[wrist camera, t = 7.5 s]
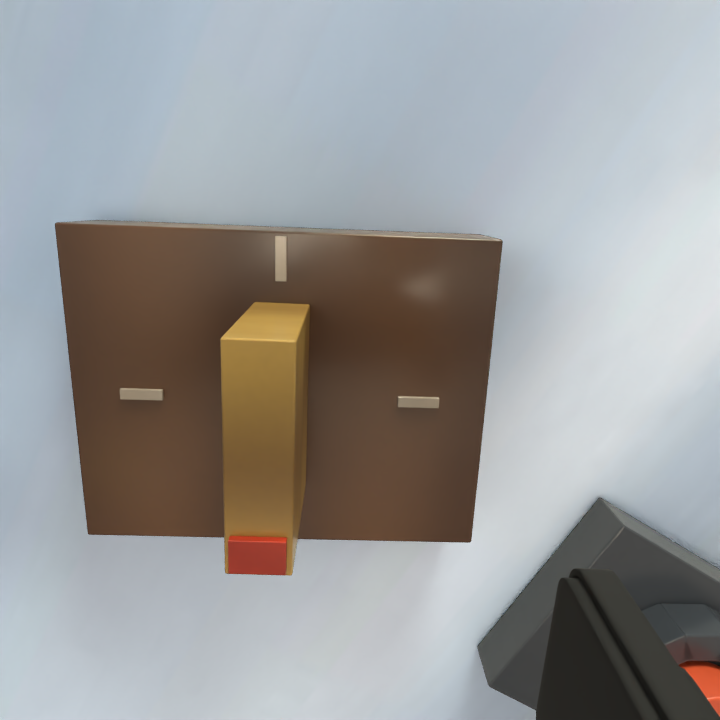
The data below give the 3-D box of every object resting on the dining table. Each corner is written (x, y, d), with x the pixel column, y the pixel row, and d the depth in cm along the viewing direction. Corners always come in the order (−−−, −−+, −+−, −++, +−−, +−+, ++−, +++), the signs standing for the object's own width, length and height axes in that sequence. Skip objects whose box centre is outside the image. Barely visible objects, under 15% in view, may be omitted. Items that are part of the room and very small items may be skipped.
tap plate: (481, 234, 20) (504, 240, 17) (456, 501, 23) (472, 545, 20) (95, 219, 20) (50, 222, 17) (119, 493, 23) (85, 538, 20)
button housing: (802, 619, 25) (884, 693, 22) (674, 750, 27) (727, 839, 24) (599, 496, 24) (648, 553, 20) (476, 646, 25) (499, 725, 22)
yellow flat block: (254, 301, 18) (217, 339, 13) (310, 303, 18) (295, 343, 13) (254, 483, 20) (222, 580, 15) (305, 485, 20) (291, 582, 15)
